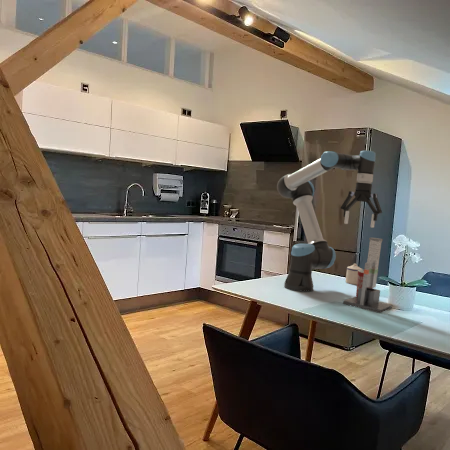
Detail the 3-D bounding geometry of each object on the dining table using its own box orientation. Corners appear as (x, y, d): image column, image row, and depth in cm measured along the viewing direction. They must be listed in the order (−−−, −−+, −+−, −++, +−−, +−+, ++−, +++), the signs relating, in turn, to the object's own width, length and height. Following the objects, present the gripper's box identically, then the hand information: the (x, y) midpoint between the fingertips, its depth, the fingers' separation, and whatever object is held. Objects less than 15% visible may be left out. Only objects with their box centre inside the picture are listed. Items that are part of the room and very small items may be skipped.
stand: (342, 303, 216) (348, 259, 214) (355, 299, 228) (361, 257, 226) (380, 313, 205) (386, 266, 203) (391, 308, 216) (397, 264, 215)
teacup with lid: (363, 285, 269) (366, 265, 268) (350, 284, 267) (352, 264, 266) (352, 280, 281) (355, 262, 280) (339, 280, 278) (342, 261, 277)
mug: (375, 300, 231) (378, 274, 229) (358, 298, 230) (361, 272, 229) (366, 294, 243) (369, 269, 242) (349, 293, 242) (352, 267, 241)
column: (363, 286, 215) (369, 237, 213) (367, 285, 219) (373, 237, 217) (372, 288, 212) (379, 239, 210) (376, 287, 216) (382, 239, 214)
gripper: (337, 180, 229) (332, 222, 231) (386, 184, 214) (380, 229, 216) (343, 181, 235) (338, 222, 237) (392, 185, 220) (386, 228, 221)
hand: (358, 225), depth 226 cm, fingers open, 13 cm apart
